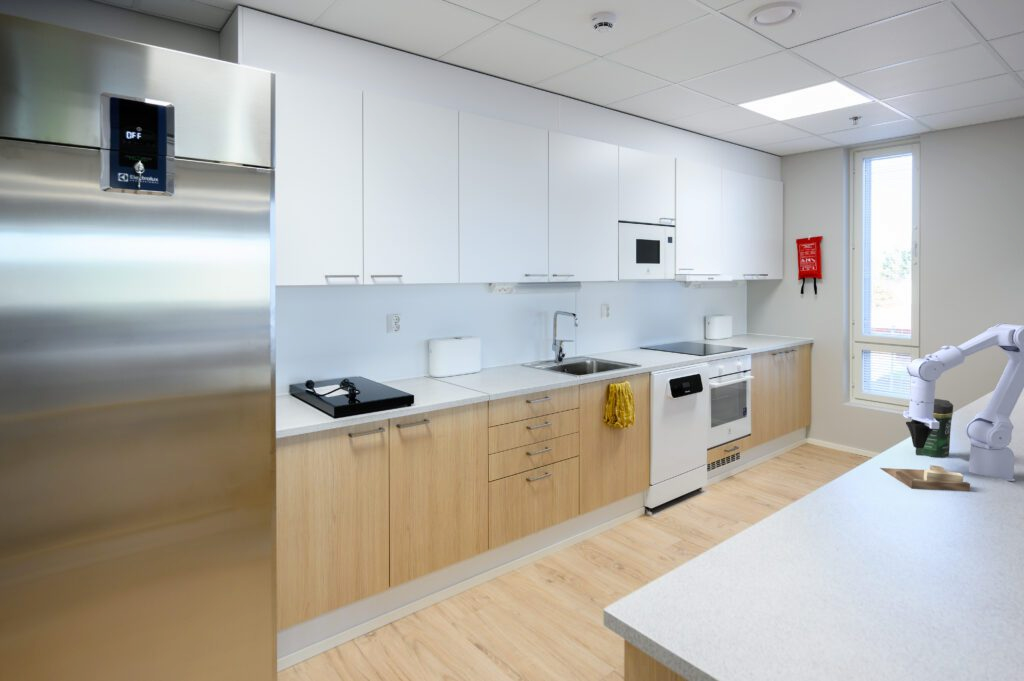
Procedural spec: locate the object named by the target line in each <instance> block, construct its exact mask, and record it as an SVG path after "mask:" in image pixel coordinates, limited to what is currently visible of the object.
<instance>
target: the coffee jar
mask: <svg viewBox="0 0 1024 681" xmlns="http://www.w3.org/2000/svg"><path fill="white" fill-rule="evenodd" d="M953 414H954V405H953V403H952V402H950V401H949V400H948V399H947V400H946V399H942V398H941V399H939V398H934V411H933V417H934V418H935V419H936V421H938V422H939V429H933V430H932V432H931V433H930V434H929V436H928V438H927V441H926V443H925V446H924V448H915V456H920V457H921V456H922V457H924V456H925V457H929V458H935V459H942V458H946V457H950V447H951V446H950V444H951V431H952V420H953V419H952V418H953Z"/></svg>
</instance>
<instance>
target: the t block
mask: <svg viewBox="0 0 1024 681" xmlns="http://www.w3.org/2000/svg"><path fill="white" fill-rule="evenodd" d="M923 470H924V480H930V481H952V482H964V475H963V474H962V473H961V472H953V471H952V472H951V471H947V470H946V469H945V468H944V467H943V466H942V465H931V464H930V468H929V469H923Z"/></svg>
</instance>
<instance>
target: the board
mask: <svg viewBox="0 0 1024 681" xmlns="http://www.w3.org/2000/svg"><path fill="white" fill-rule="evenodd" d="M879 469H880V470H881V471H883V472H885V473H887V474H888V475H890V476H891V477H893V478H894V479H896V480H897V481H899V482H900V483H902V484H904V485H905V486H906V487H908V488H910V489H911V490H912V489H915V490H930V491H932V490H934V491H954V492H970V491H971V483H970V482H968V481H963V482H952V481H930V480H924V470H925V469H915V468H913V469H911V468H890V467H889V468H888V467H879Z"/></svg>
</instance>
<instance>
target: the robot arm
mask: <svg viewBox="0 0 1024 681" xmlns="http://www.w3.org/2000/svg"><path fill="white" fill-rule="evenodd" d="M993 346H997V347H999V349H1001V351H1003V352H1004V353H1005V354H1006V356H1007V357H1008V361H1007V364H1006V366H1005V368H1004V369H1003V372H1002V374H1001V376H1000V379H999V380H998V382H997V385H996V387H995V389H994V391H993V393H992V395H991V397H990V399H989V400H988V404H987V405H986V407H985V409H984V410H982V411H980V412H977V413H976V414H975V415H974V418H973V419H972V420H970V421H969V422H968V423H967V425H966V427H965V434H966V436H967V437H968V438H969V443H970V450H969V462H968V471H969V472H970V473H972V474H976V475H978V476H979V475H980V476H985V477H990V478H991V477H993V478H995V477H997V478H1001V479H1003V480H1004V481H1007V482H1015V481H1016V479H1015V478H1014V473H1015V472H1014V471H1015V462H1016V461H1015V460H1016V459H1015V454H1014V451H1013V450H1012V449H1011V448H1010V447H1008V446H1009V445H1010V443H1011V442H1012V433H1013V429H1014V428H1015V427H1014V424H1013V423H1012V421H1011V419H1010V417H1011V414H1012V412H1013V410H1014V409H1015V406H1016V405H1017V402H1018V400H1019V398H1020V396H1021V394H1022V393H1023V390H1024V325H1022V324H1021V325H1020V324H1009V323H1006V322H1005V323H1004V322H1001V323H998V324H996V325H994V326H992V327H988V328H987V330H985V331H983V332H982V333H980V334H978V335H976V336H974V337H973V338H971V339H969V340H967V341H965V342H963V343H961V344H960V345H957V346H954V345H943V346H941V347H940V349H939V350H938V351H935V352H933V353H931V354H930V353H929V354H926V355H925V356H924V358H920V357H919V358H916V359H913V360H912V361H911V362H910V363H909V365H908V366H907V367H906V372H907V374H908V376H909V377H910V389H909V390H910V391H909V402H908V404H909V405H908V410H903V413H902V416H903V417H904V418H905V419H908V420H909V419H910V420H911V421H906V422H905V425H906V426H907V429H908V430H909V433H910V437H911V442H912V445H913V448H915V449H916V448H924V446H925V443H926V441H927V438H928V436H929V434H930V433H931V432H932V430H933V429H939V422H938V421H936V419H935V418H934V417H933V411H934V399H935V395H936V394H935V393H936V381H937V380H938V379H939V378H941V376H942V374H943V373H945V372H947V371H949V370H951V369H953V368H956V367H958V366H959V365H961V364H963V363H964V362H965V359H966V357H969V356H971V355H973V354H976V353H979V352H981V351H983V350H986V349H989V348H990V347H993Z"/></svg>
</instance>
